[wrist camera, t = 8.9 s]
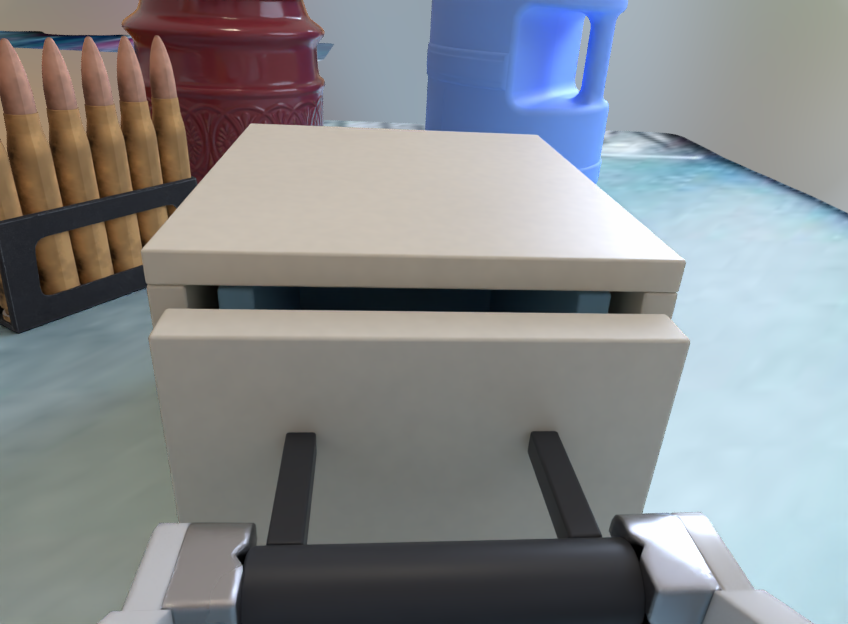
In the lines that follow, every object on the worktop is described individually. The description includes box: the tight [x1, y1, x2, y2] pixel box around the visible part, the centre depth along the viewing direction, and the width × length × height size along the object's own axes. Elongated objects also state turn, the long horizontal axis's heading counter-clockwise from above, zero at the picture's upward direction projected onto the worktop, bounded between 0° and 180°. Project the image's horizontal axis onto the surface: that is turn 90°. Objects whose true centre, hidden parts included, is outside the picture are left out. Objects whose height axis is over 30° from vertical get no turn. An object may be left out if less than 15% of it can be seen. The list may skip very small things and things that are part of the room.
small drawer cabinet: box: [141, 123, 686, 329], centre depth 21 cm, size 14×12×10 cm
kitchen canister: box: [122, 0, 325, 185], centre depth 44 cm, size 13×13×18 cm
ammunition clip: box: [0, 35, 197, 333], centre depth 30 cm, size 11×2×12 cm, turn 147°
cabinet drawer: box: [148, 285, 690, 624], centre depth 17 cm, size 17×10×8 cm, turn 5°
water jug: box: [425, 0, 628, 184], centre depth 50 cm, size 16×16×28 cm
